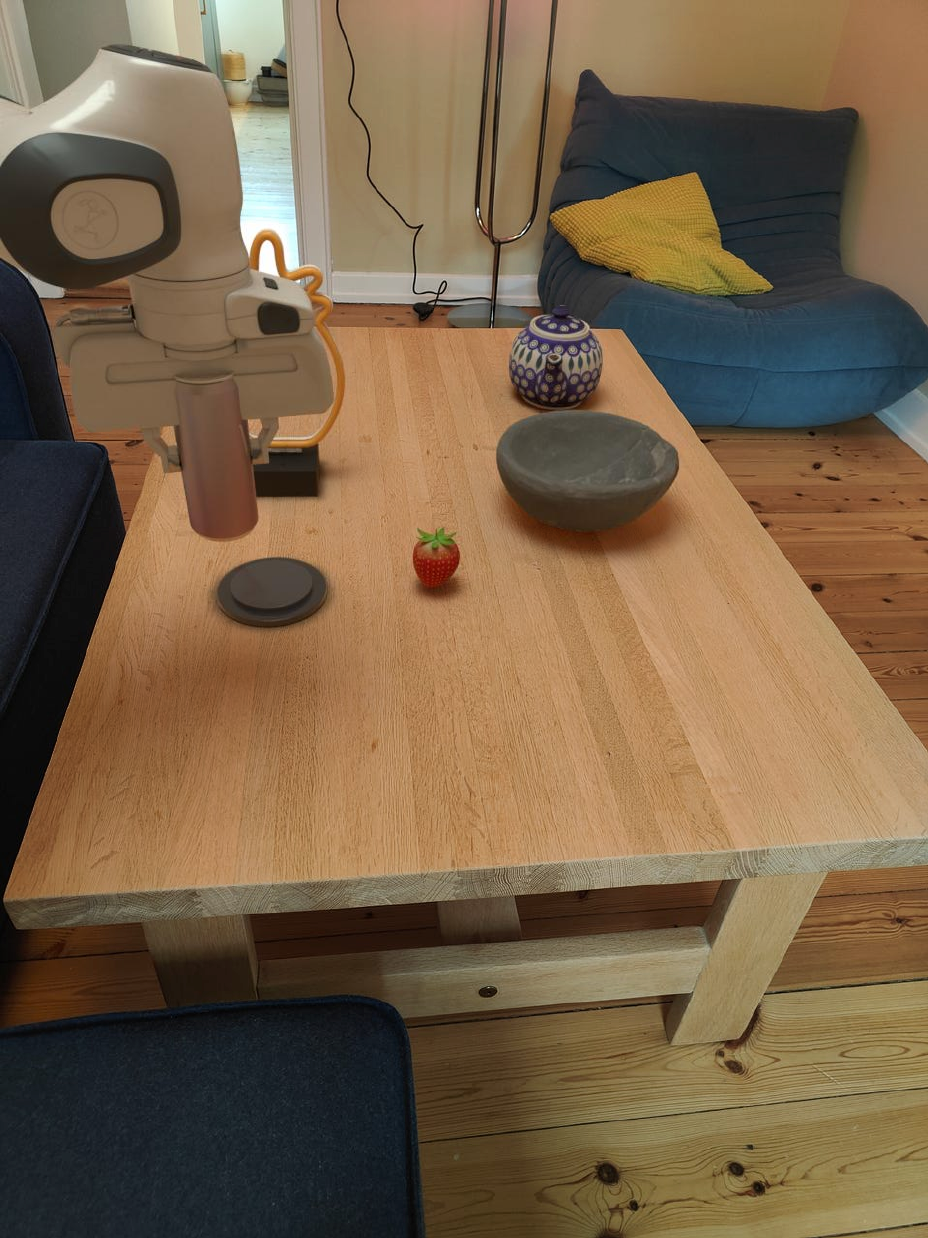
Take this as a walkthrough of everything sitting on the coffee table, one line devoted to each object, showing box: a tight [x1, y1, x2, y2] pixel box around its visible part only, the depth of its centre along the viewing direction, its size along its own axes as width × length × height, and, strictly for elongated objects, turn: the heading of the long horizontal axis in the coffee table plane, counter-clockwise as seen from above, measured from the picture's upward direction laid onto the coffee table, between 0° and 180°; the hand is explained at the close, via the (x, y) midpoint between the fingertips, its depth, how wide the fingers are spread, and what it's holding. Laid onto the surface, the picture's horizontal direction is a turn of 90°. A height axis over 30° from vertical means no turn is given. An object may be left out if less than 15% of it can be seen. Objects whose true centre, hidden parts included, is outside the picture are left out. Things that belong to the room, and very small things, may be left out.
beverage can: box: [172, 372, 260, 543], centre depth 73 cm, size 6×6×15 cm
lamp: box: [249, 228, 346, 498], centre depth 106 cm, size 17×9×32 cm, turn 96°
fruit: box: [412, 526, 461, 589], centre depth 96 cm, size 5×5×8 cm
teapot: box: [508, 304, 604, 411], centre depth 137 cm, size 25×15×15 cm, turn 169°
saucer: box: [216, 556, 328, 628], centre depth 96 cm, size 12×12×1 cm
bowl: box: [495, 409, 680, 533], centre depth 110 cm, size 23×22×10 cm
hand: (217, 465), depth 73 cm, fingers closed on beverage can, 6 cm apart
